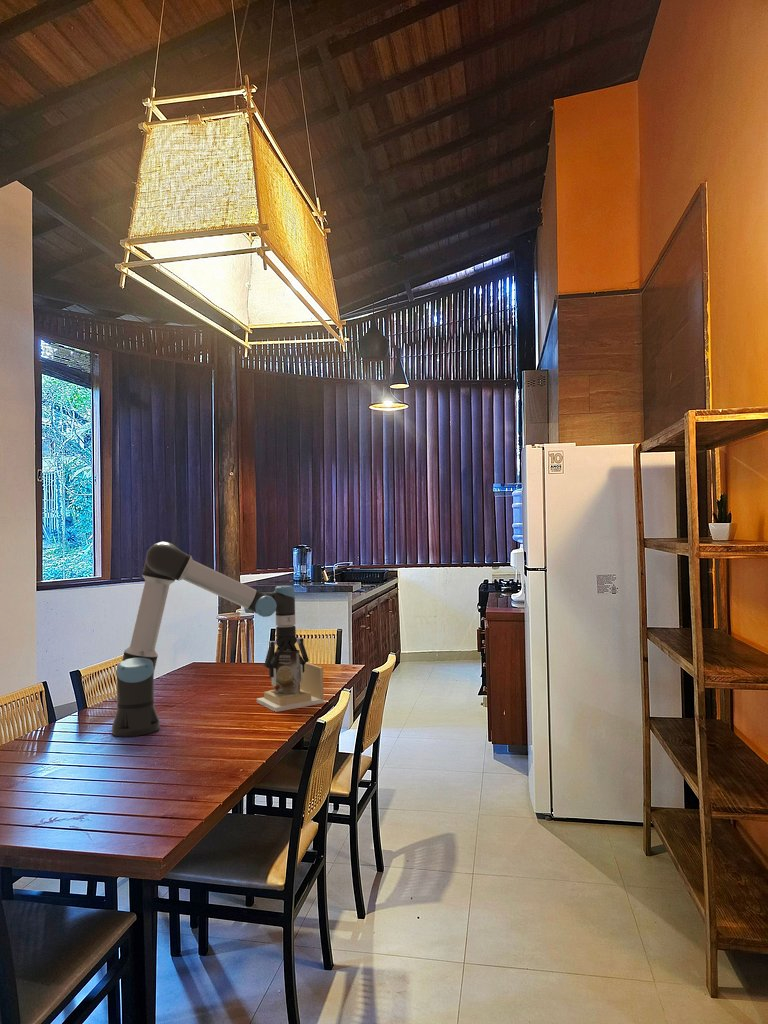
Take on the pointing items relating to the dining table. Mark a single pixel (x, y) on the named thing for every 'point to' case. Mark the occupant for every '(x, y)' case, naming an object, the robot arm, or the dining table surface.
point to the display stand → (306, 696)
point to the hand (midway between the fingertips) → (287, 683)
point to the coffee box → (287, 672)
